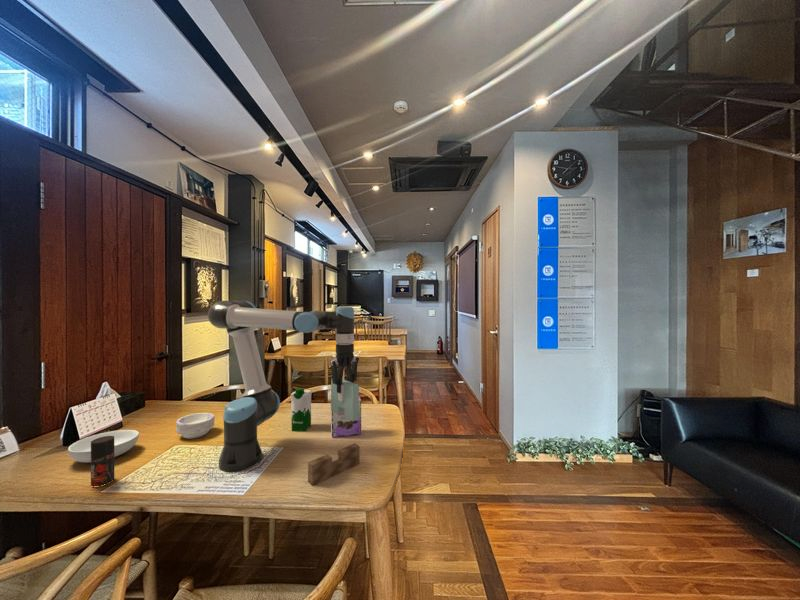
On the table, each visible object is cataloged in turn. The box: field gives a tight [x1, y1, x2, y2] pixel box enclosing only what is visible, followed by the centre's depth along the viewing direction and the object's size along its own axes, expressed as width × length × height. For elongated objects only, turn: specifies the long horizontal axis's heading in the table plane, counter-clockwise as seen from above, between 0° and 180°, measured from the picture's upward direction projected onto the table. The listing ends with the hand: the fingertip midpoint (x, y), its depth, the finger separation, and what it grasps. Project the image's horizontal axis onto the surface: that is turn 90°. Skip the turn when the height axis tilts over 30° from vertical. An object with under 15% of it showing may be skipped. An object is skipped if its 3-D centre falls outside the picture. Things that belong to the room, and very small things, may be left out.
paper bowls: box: [175, 412, 215, 440], centre depth 146 cm, size 15×15×8 cm
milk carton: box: [290, 387, 313, 432], centre depth 153 cm, size 9×9×20 cm
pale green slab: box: [330, 378, 360, 421], centre depth 130 cm, size 3×16×14 cm, turn 44°
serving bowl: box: [67, 429, 140, 463], centre depth 126 cm, size 21×21×7 cm
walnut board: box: [307, 443, 361, 486], centre depth 113 cm, size 20×3×7 cm, turn 134°
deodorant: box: [90, 436, 115, 488], centre depth 108 cm, size 6×6×15 cm
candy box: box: [330, 396, 362, 438], centre depth 146 cm, size 14×6×16 cm, turn 105°
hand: (344, 399), depth 130 cm, fingers closed on pale green slab, 3 cm apart
